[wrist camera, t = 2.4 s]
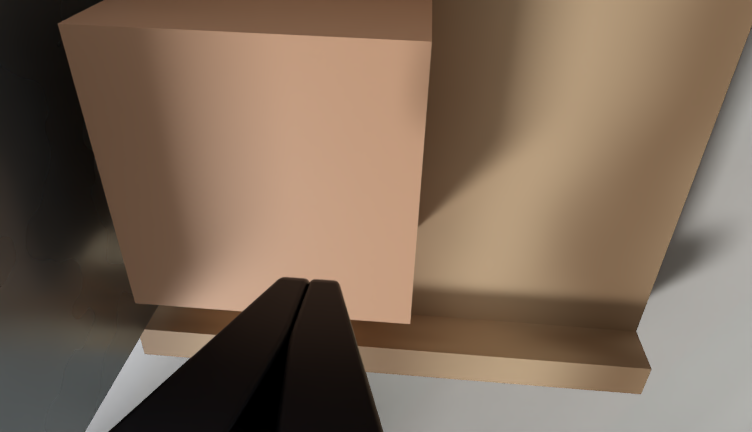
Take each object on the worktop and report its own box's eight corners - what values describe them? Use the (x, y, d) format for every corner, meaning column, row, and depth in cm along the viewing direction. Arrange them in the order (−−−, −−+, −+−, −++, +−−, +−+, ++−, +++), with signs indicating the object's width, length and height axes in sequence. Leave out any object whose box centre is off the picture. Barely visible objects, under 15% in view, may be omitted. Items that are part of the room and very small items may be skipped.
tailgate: (50, -167, 12) (97, -165, 12) (152, 258, 18) (184, 260, 18) (-725, -169, 4) (-591, -163, 4) (-69, 593, 10) (-14, 599, 10)
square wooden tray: (804, -243, 11) (919, -267, 8) (612, 317, 18) (640, 393, 16) (66, -257, 11) (-37, -283, 9) (182, 286, 19) (145, 354, 17)
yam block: (432, -10, 12) (431, 41, 9) (414, 230, 15) (409, 323, 12) (147, -22, 12) (57, 23, 9) (191, 215, 15) (134, 303, 13)
